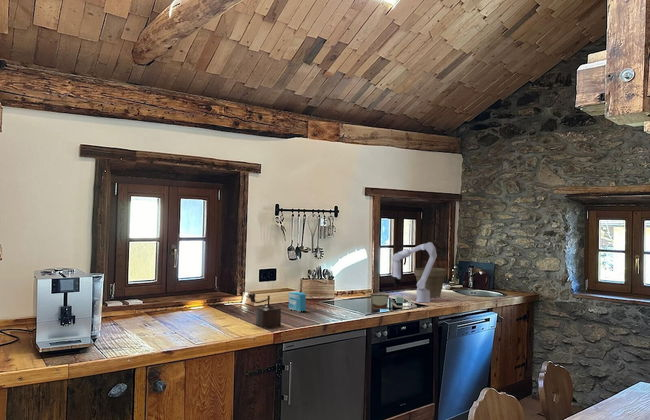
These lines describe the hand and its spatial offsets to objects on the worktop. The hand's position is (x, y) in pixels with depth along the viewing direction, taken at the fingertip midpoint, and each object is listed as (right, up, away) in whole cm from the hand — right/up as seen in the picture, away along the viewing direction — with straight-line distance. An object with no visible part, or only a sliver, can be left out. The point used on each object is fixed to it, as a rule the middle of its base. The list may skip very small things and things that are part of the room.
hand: (396, 287), depth 352 cm
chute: (+1, -9, -16) cm, 19 cm away
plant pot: (+29, -11, +21) cm, 38 cm away
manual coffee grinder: (-87, -6, -91) cm, 126 cm away
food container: (-17, -9, -34) cm, 38 cm away
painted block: (+1, -9, -8) cm, 12 cm away
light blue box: (-72, -8, -47) cm, 86 cm away
